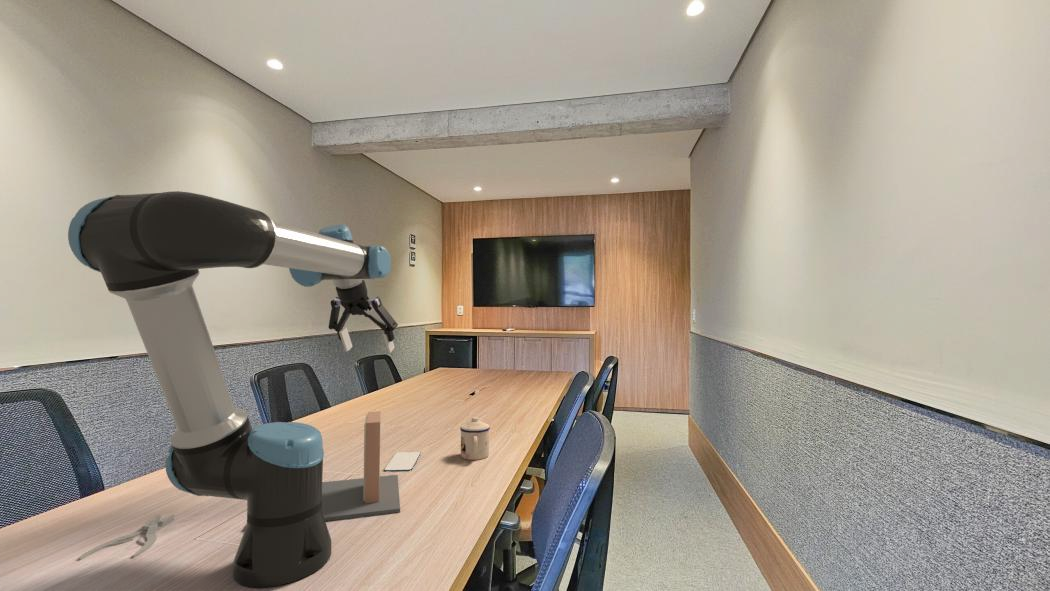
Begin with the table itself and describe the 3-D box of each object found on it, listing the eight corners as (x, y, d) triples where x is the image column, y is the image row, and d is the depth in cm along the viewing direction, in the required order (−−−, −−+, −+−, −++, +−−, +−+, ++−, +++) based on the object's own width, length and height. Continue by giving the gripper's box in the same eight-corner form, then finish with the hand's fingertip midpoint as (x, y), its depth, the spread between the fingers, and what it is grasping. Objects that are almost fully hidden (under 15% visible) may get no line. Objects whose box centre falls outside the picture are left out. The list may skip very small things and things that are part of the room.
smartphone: (411, 473, 125) (421, 454, 141) (411, 469, 126) (421, 451, 141) (382, 473, 125) (395, 454, 141) (382, 470, 125) (395, 451, 141)
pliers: (76, 553, 80) (141, 515, 95) (76, 562, 80) (140, 523, 95) (135, 550, 81) (190, 513, 96) (135, 559, 81) (190, 521, 96)
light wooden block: (379, 501, 103) (380, 422, 104) (363, 503, 102) (364, 423, 103) (379, 483, 114) (380, 411, 115) (365, 484, 113) (366, 412, 114)
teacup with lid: (460, 452, 143) (460, 414, 143) (488, 450, 144) (489, 414, 145) (459, 464, 131) (459, 423, 132) (490, 463, 132) (491, 422, 133)
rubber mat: (400, 512, 99) (400, 508, 99) (245, 531, 90) (245, 527, 90) (397, 477, 120) (397, 474, 120) (271, 490, 111) (271, 487, 111)
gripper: (398, 276, 121) (415, 343, 130) (317, 277, 126) (339, 341, 136) (385, 289, 114) (403, 358, 123) (300, 289, 120) (324, 355, 129)
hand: (370, 349), depth 130 cm, fingers open, 13 cm apart
